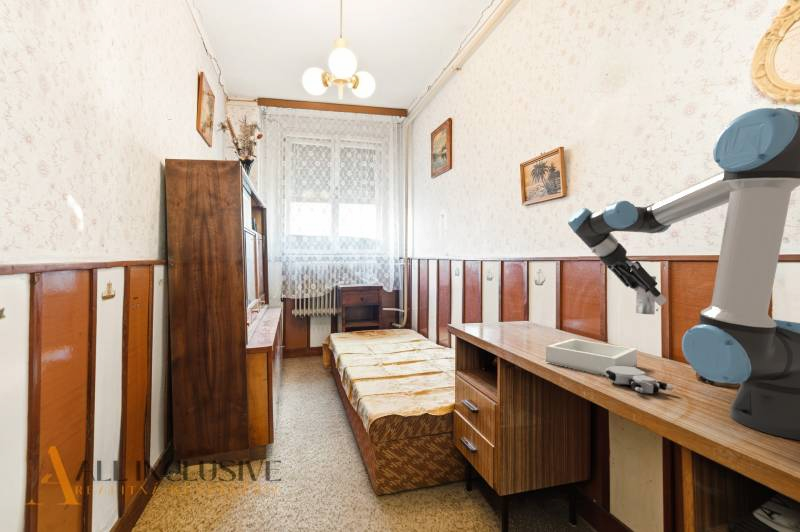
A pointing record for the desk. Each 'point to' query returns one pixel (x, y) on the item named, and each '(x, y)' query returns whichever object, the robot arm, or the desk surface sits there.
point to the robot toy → (634, 379)
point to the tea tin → (644, 300)
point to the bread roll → (715, 382)
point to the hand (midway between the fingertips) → (656, 301)
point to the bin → (590, 355)
